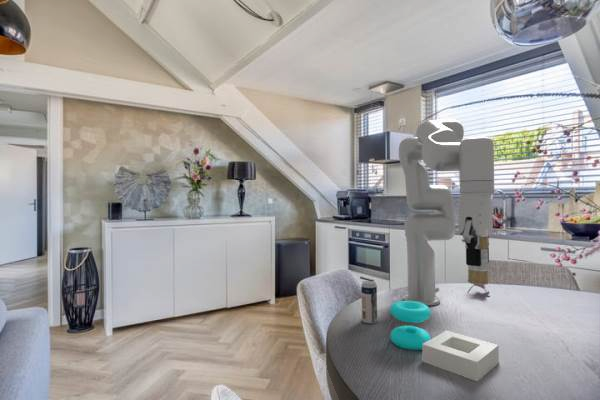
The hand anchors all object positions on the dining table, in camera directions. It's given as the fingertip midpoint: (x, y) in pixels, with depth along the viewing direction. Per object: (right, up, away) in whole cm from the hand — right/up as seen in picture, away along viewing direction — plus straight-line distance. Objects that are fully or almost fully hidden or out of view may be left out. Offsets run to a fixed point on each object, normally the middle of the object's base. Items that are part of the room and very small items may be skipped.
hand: (477, 263), depth 83 cm
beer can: (-22, -22, +21) cm, 38 cm away
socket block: (-7, -22, -5) cm, 23 cm away
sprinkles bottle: (0, -5, 0) cm, 5 cm away
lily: (+27, -22, +51) cm, 61 cm away
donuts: (-15, -22, +5) cm, 27 cm away
